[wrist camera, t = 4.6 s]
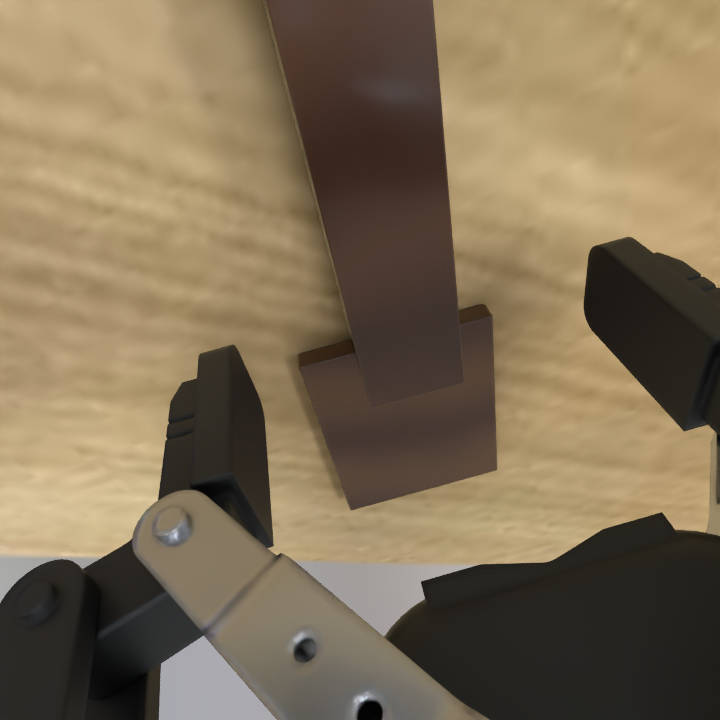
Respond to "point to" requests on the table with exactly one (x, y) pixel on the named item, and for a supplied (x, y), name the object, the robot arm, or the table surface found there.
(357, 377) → the spatula
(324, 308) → the table surface
